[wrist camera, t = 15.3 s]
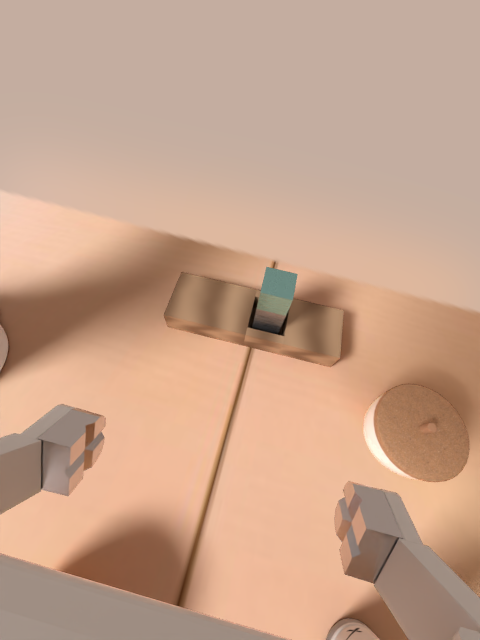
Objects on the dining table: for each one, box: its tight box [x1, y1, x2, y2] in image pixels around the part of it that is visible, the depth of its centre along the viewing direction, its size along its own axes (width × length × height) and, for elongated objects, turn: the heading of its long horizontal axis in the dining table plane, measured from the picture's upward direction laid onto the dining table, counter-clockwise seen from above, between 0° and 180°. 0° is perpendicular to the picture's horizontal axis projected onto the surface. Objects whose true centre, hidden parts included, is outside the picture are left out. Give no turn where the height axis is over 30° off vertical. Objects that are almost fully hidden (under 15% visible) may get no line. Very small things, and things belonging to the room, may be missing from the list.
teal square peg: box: [252, 267, 297, 335], centre depth 41 cm, size 4×4×12 cm
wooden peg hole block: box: [164, 272, 344, 367], centre depth 45 cm, size 26×8×4 cm, turn 77°
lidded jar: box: [363, 384, 469, 482], centre depth 37 cm, size 11×11×9 cm
